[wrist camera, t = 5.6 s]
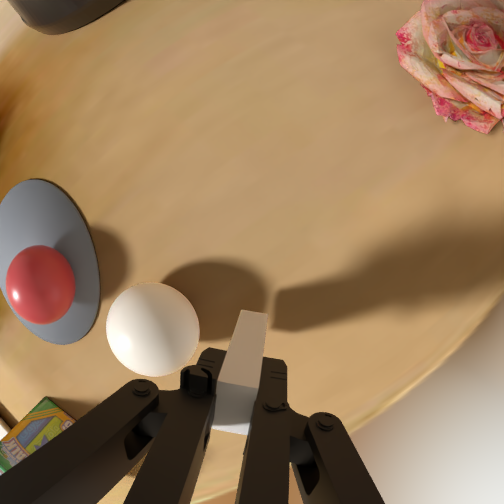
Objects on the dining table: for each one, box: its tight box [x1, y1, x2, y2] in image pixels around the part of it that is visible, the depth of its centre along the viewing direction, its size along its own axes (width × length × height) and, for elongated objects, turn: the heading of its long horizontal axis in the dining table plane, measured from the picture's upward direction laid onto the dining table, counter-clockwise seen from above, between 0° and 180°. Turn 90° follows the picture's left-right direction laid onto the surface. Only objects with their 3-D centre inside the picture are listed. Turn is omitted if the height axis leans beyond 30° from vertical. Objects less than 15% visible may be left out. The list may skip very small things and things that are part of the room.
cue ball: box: [106, 282, 200, 377], centre depth 16 cm, size 6×6×6 cm
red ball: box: [6, 245, 76, 325], centre depth 16 cm, size 6×6×6 cm
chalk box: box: [0, 397, 76, 475], centre depth 17 cm, size 9×9×15 cm
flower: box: [396, 0, 504, 134], centre depth 10 cm, size 10×9×8 cm
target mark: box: [0, 179, 100, 345], centre depth 19 cm, size 14×14×1 cm
